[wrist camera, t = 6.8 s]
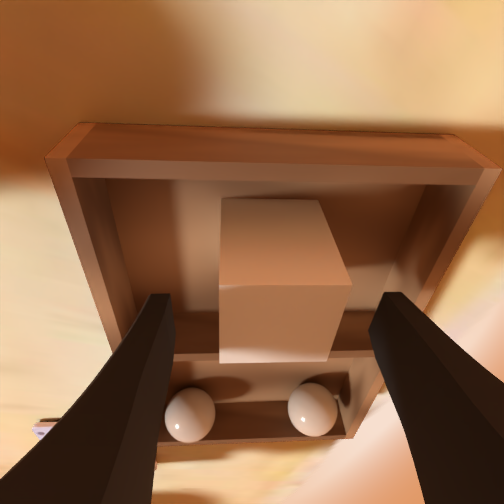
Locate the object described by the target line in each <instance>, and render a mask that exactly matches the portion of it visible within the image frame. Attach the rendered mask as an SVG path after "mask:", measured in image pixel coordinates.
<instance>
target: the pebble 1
mask: <svg viewBox="0 0 504 504" xmlns="http://www.w3.org/2000/svg"><path fill="white" fill-rule="evenodd" d="M215 414H216V411H215V405H214V402H213V400H212V398H211V397H210V396H209V394H208V393H206V392H205V391H204V390H202V389H199V388H195V387H189V388H185V389H182V390H180V391H178V392H177V393H176V394H175V395H174V396H173V397H172V398H171V399H170V401H169V403H168V405H167V407H166V411H165V424H166V427H167V430H168V431H169V433H170V434H171V436H173V437H174V438H175V439H176V440H178V441H181V442H184V443H192V442H196V441H199V440H200V439H202V438H203V437H205V436H206V435H207V434H208V433H209V431H210V430H211V428H212V426H213V424H214V421H215Z"/></svg>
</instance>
